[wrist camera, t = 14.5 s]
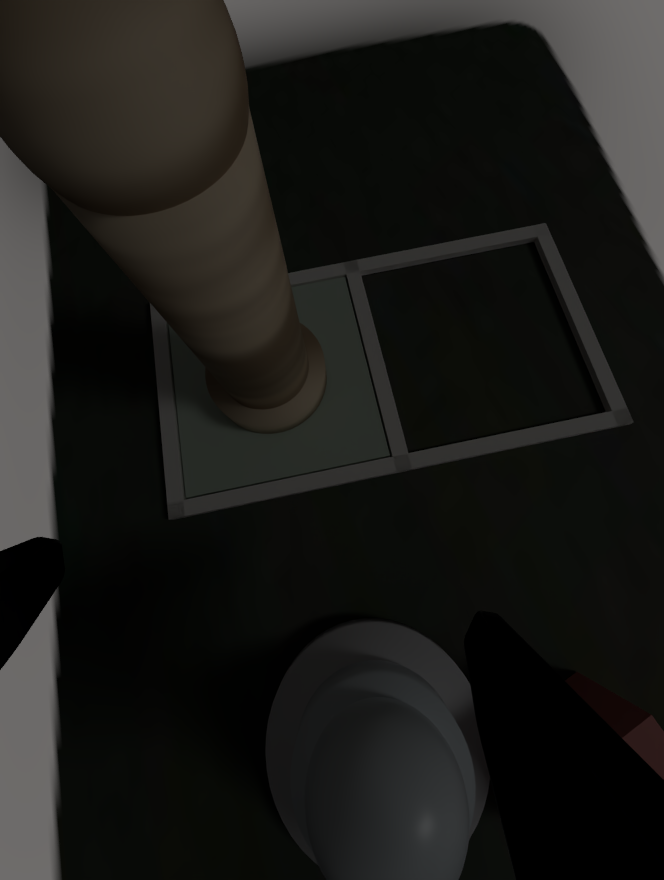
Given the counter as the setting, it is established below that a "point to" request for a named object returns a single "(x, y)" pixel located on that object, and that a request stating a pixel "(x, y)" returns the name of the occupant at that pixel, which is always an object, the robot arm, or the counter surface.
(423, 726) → the dome
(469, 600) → the counter surface
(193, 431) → the game board
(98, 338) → the counter surface
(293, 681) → the base
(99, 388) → the counter surface
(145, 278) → the pawn
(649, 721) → the die
